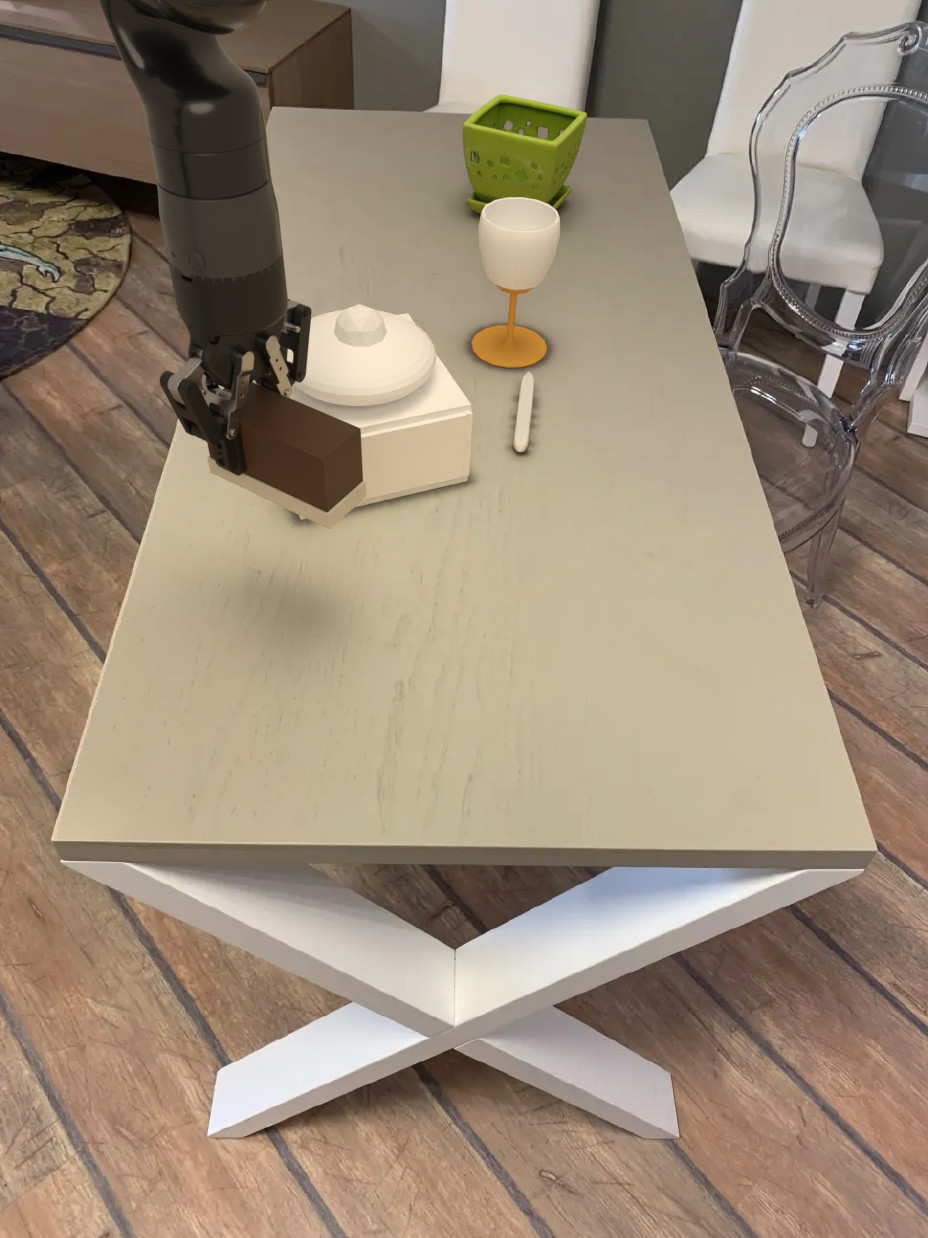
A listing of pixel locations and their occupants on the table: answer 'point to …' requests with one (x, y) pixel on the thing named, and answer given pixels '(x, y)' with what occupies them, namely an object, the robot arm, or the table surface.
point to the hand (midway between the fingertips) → (255, 452)
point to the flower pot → (521, 150)
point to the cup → (515, 272)
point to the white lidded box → (389, 400)
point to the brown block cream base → (297, 457)
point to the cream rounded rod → (524, 413)
